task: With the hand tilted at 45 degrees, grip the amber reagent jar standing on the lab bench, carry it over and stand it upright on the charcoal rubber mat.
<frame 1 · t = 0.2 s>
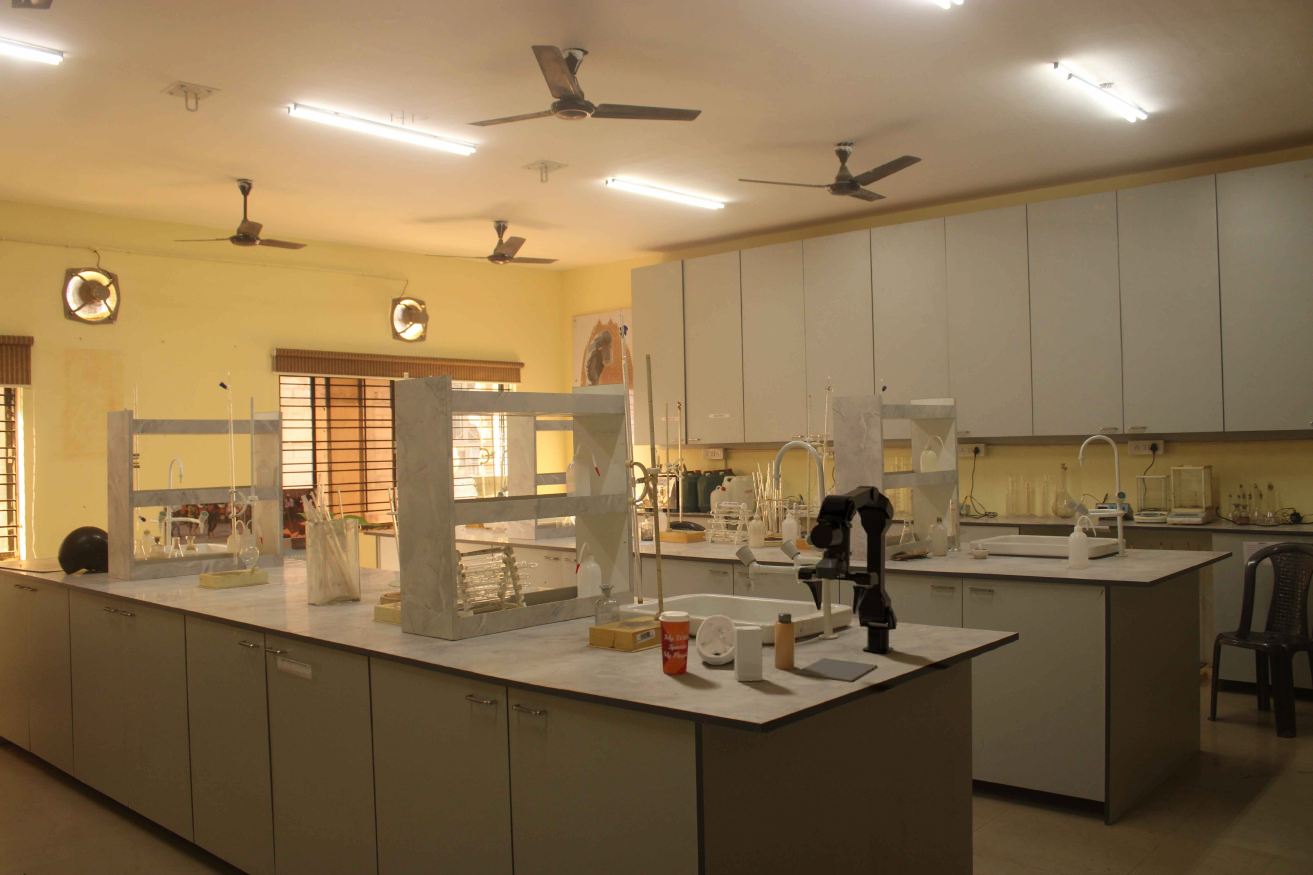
hand: (836, 611, 231), 14 cm above the countertop, tool pointing down, fingers open, 9 cm apart
rubber mat: (836, 670, 232), on the countertop
skincare box: (747, 680, 222), on the countertop
skull bowl: (717, 661, 241), on the countertop
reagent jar: (784, 667, 235), on the countertop
paper cup: (674, 672, 229), on the countertop
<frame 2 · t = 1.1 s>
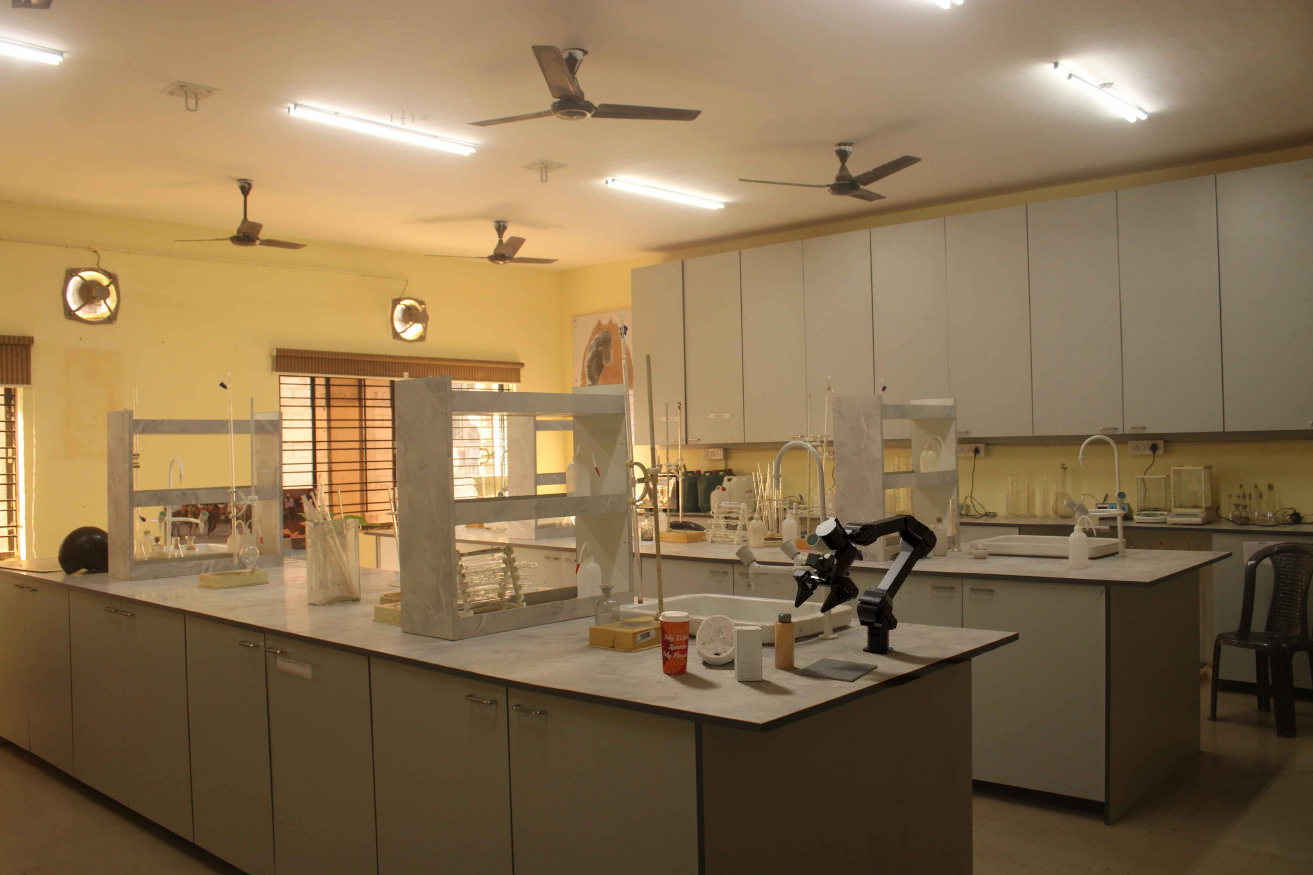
hand: (808, 609, 239), 13 cm above the countertop, tool tilted 45°, fingers open, 9 cm apart
nothing on the countertop moved.
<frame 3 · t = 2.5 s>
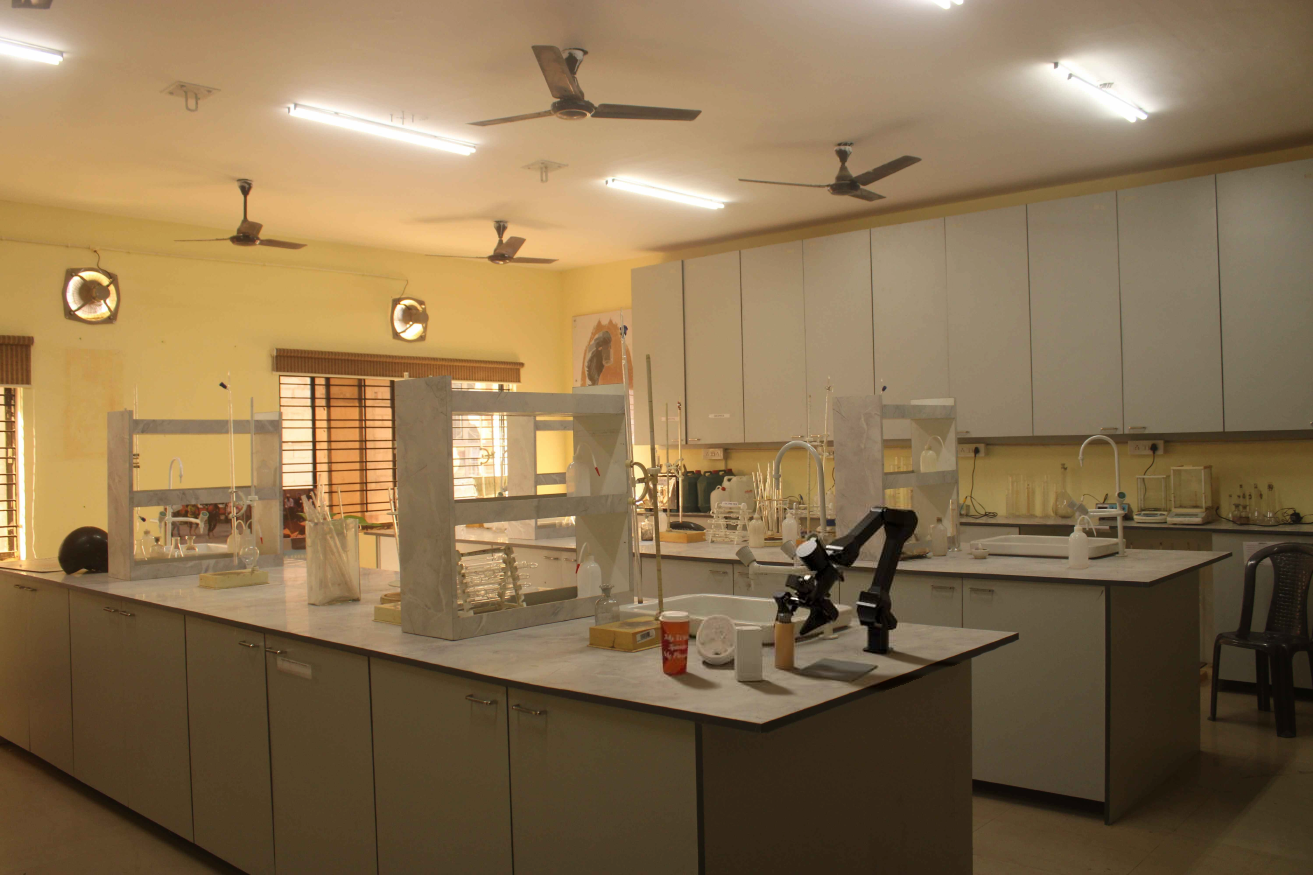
hand: (787, 631, 235), 9 cm above the countertop, tool tilted 45°, fingers open, 9 cm apart
nothing on the countertop moved.
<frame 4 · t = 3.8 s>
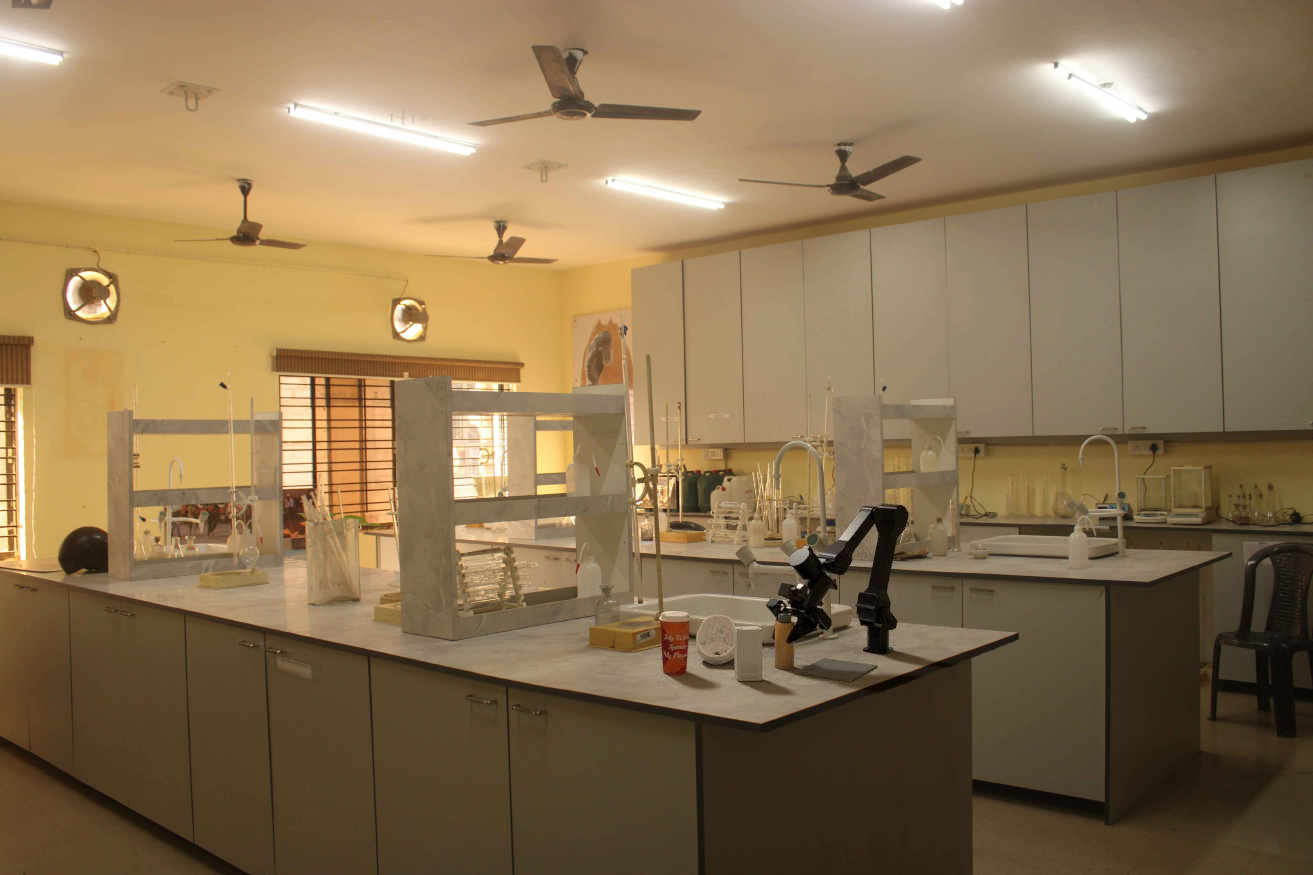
hand: (780, 640, 234), 7 cm above the countertop, tool tilted 45°, fingers closed on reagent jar, 5 cm apart
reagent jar: (784, 666, 235), on the countertop, touching gripper
everything else where it was.
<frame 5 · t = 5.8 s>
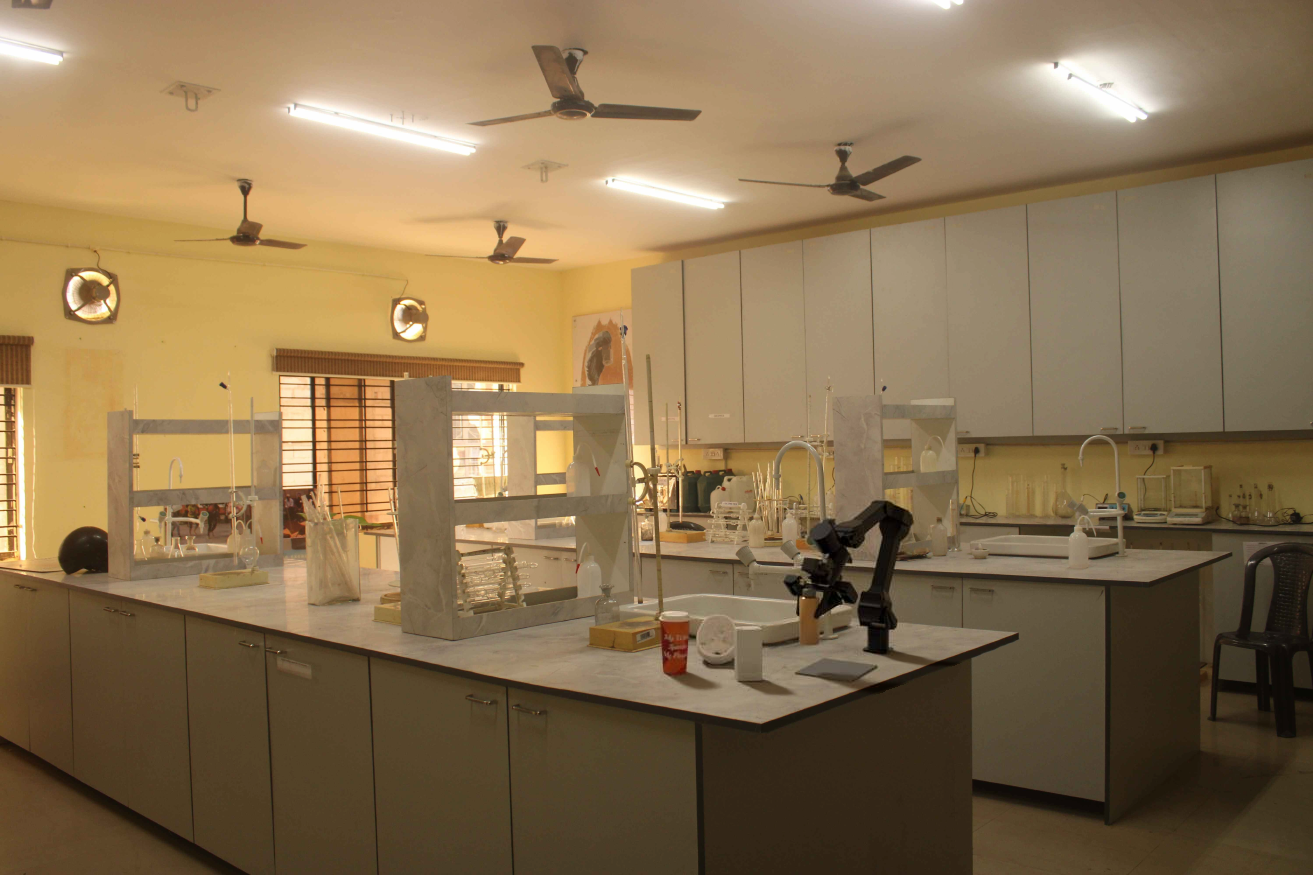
hand: (806, 616, 230), 13 cm above the countertop, tool tilted 45°, fingers closed on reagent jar, 5 cm apart
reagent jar: (809, 642, 231), point 7 cm above the countertop, touching gripper
when the fingers open (8 cm above the countertop, at t = 7.9 s): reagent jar stays where it is, resting on rubber mat.
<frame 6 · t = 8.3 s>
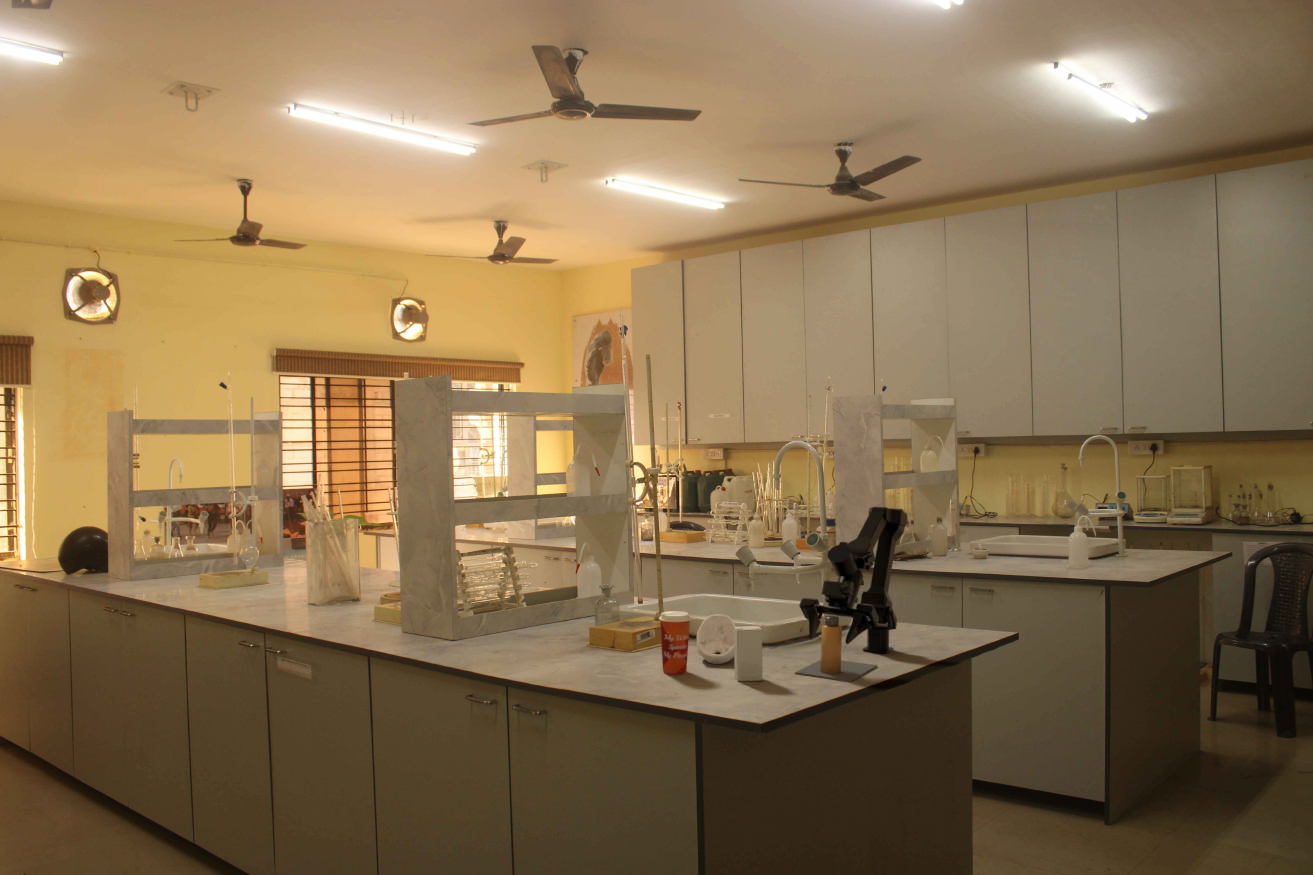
hand: (828, 640, 227), 8 cm above the countertop, tool tilted 45°, fingers open, 9 cm apart
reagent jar: (830, 671, 228), resting on rubber mat
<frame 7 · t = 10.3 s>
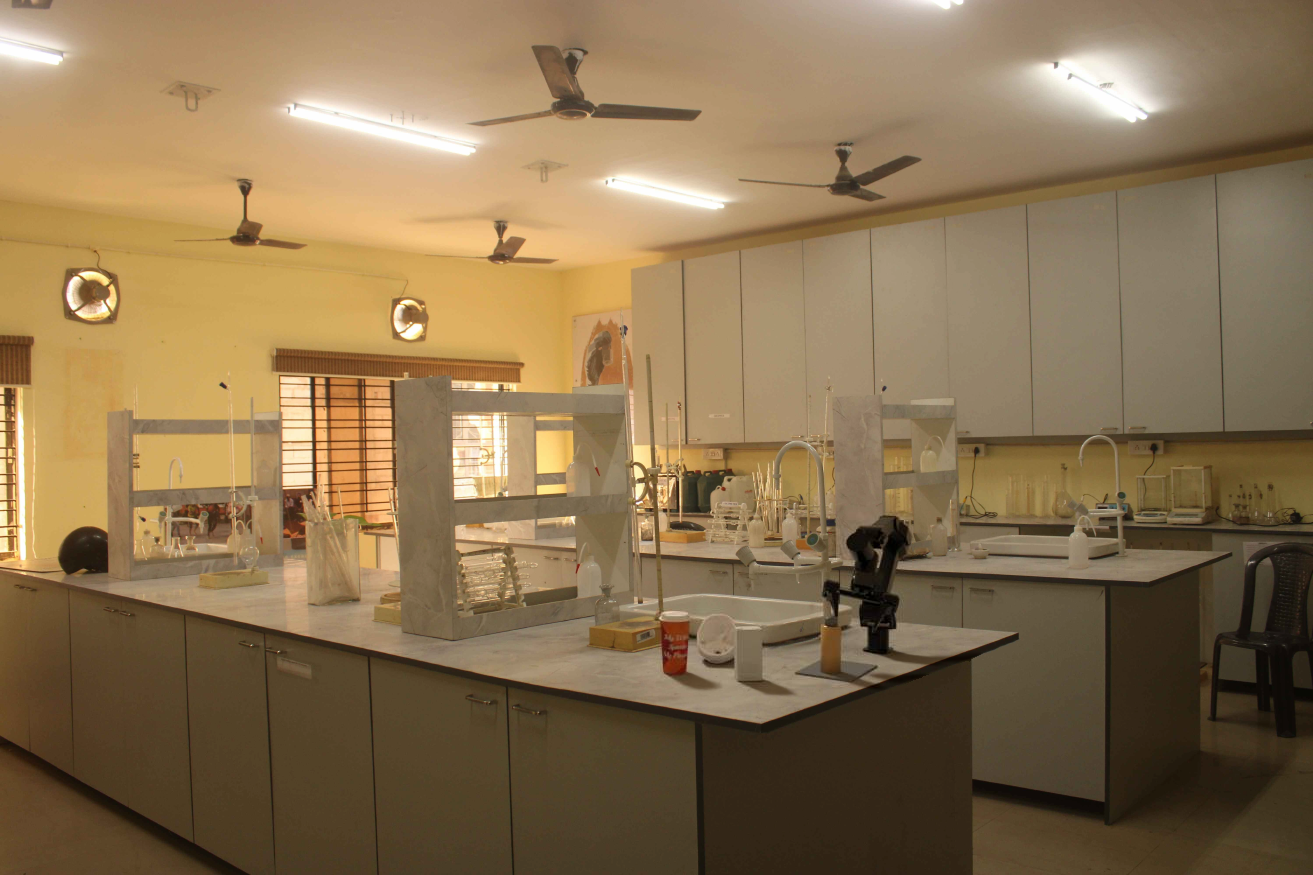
hand: (854, 627, 235), 10 cm above the countertop, tool tilted 35°, fingers open, 9 cm apart
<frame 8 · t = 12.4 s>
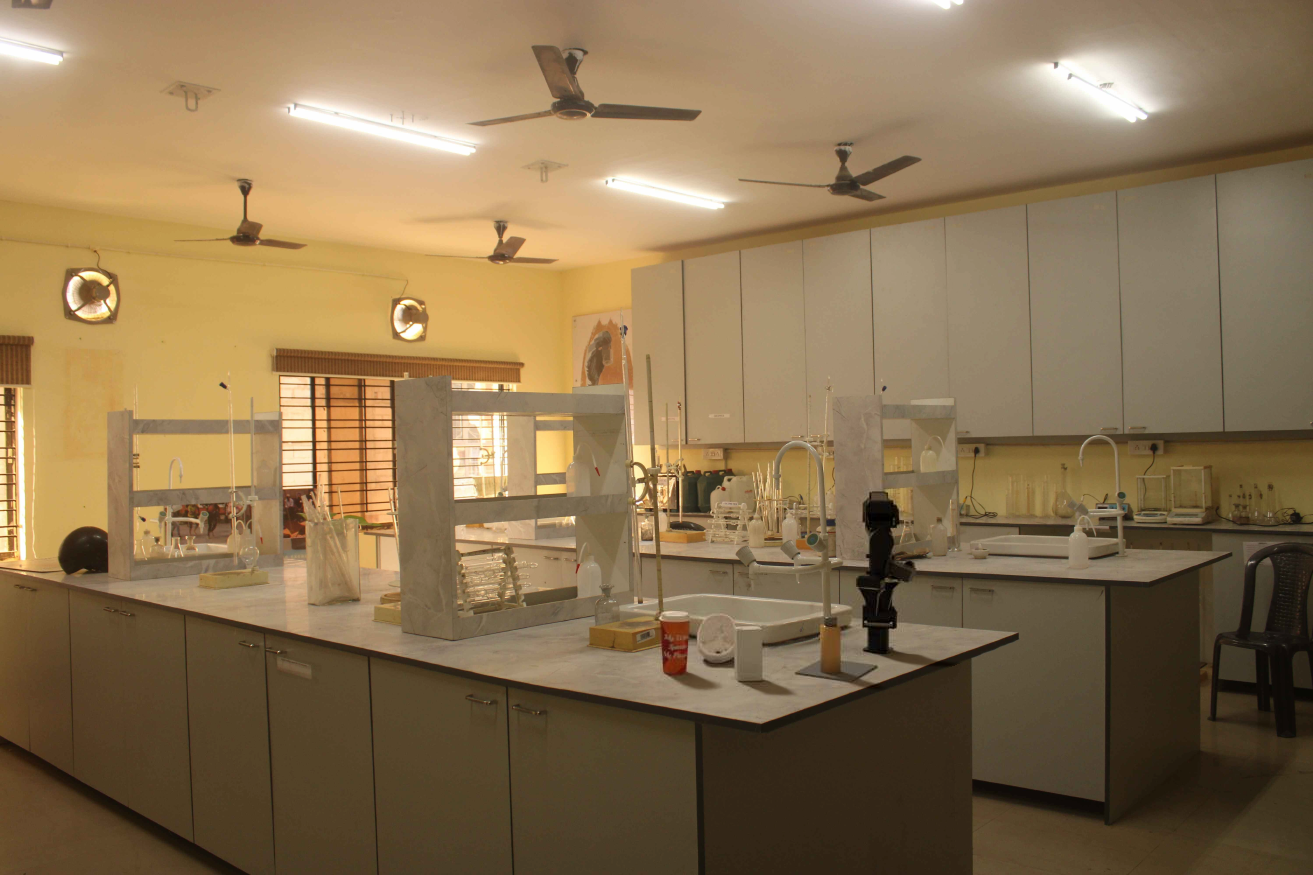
hand: (880, 612, 237), 13 cm above the countertop, tool pointing down, fingers open, 9 cm apart
at the end: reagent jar inside the target area on the rubber mat (3.9 cm from its centre), point 0.4 cm above the rubber mat's base; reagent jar tilted 1°; the gripper is holding nothing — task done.
